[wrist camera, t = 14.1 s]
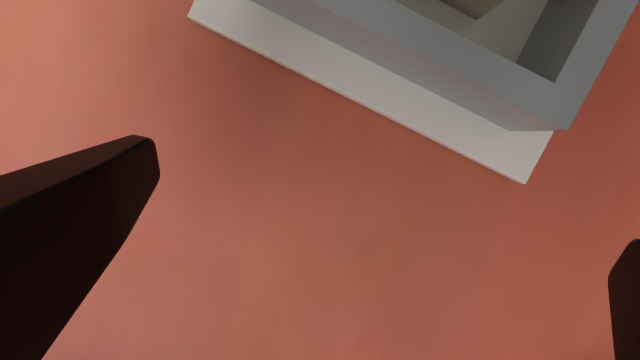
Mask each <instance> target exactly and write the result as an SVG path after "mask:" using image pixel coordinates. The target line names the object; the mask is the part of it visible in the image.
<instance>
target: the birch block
mask: <svg viewBox="0 0 640 360" xmlns="http://www.w3.org/2000/svg"><path fill="white" fill-rule="evenodd" d="M439 1H440V2H442V3H444V4H446V5H448V6H450V7H452V8H454V9H456V10H458V11H460V12H462V13H464V14H466V15H468V16H470V17H472V18H474V19H476V20H477V19H479V18H480V17H482V16H483V15H484V14H486V13H487V12H489V11H490V10H491V9H493V8H494V7H496V6H497V5H498V4H500V3H501V2H503V1H504V0H439Z"/></svg>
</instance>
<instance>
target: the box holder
mask: <svg viewBox="0 0 640 360" xmlns="http://www.w3.org/2000/svg"><path fill="white" fill-rule="evenodd" d="M638 2H639V0H504V1H503V2H501V3H500V4H498V5H497V6H496V7H494V8H493V9H491V10H490V11H489V12H487V13H486V14H484V15H483V16H482V17H480V18H479V19H477V20H476V19H474V18H472V17H470V16H468V15H466V14H464V13H462V12H460V11H458V10H456V9H454V8H452V7H450V6H448V5H446V4H444V3H442V2H440V1H439V0H194V2H193V4H192V7H191V9H190V11H189V13H188V17H189V18H190V19H191V20H192V21H193V22H195V23H197V24H199V25H201V26H203V27H205V28H207V29H209V30H211V31H213V32H215V33H217V34H219V35H221V36H223V37H225V38H227V39H229V40H231V41H233V42H235V43H237V44H239V45H241V46H243V47H245V48H247V49H249V50H252V51H254V52H256V53H258V54H260V55H262V56H264V57H266V58H268V59H270V60H272V61H274V62H276V63H278V64H280V65H282V66H284V67H286V68H288V69H290V70H292V71H294V72H296V73H298V74H300V75H302V76H304V77H306V78H308V79H310V80H312V81H314V82H316V83H318V84H320V85H322V86H324V87H326V88H328V89H330V90H332V91H334V92H336V93H338V94H340V95H342V96H344V97H346V98H348V99H350V100H352V101H354V102H356V103H358V104H360V105H362V106H364V107H366V108H368V109H370V110H372V111H374V112H376V113H378V114H380V115H382V116H384V117H386V118H388V119H390V120H392V121H394V122H396V123H398V124H400V125H402V126H404V127H406V128H408V129H410V130H412V131H414V132H416V133H418V134H420V135H422V136H424V137H426V138H428V139H430V140H432V141H434V142H436V143H438V144H440V145H442V146H444V147H446V148H448V149H450V150H452V151H454V152H456V153H458V154H460V155H462V156H464V157H466V158H468V159H471V160H473V161H475V162H477V163H479V164H481V165H483V166H485V167H487V168H489V169H491V170H493V171H495V172H497V173H499V174H501V175H503V176H505V177H507V178H509V179H511V180H513V181H515V182H517V183H521V184H526V182H527V180H528V179H529V177H530V175H531V173H532V171H533V169H534V168H535V166H536V164H537V162H538V160H539V158H540V157H541V155H542V153H543V151H544V149H545V147H546V145H547V144H548V142H549V140H550V138H551V136H552V134H553V133H554V131H568V130H569V128H570V126H571V124H572V123H573V121H574V119H575V117H576V115H577V113H578V112H579V110H580V108H581V106H582V104H583V102H584V101H585V99H586V97H587V95H588V93H589V91H590V90H591V88H592V86H593V84H594V82H595V80H596V79H597V77H598V75H599V73H600V71H601V69H602V68H603V66H604V64H605V62H606V60H607V58H608V57H609V55H610V53H611V51H612V49H613V48H614V46H615V44H616V42H617V40H618V38H619V37H620V35H621V33H622V31H623V29H624V27H625V26H626V24H627V22H628V20H629V18H630V16H631V15H632V13H633V11H634V9H635V7H636V5H637V4H638Z"/></svg>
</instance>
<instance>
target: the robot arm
mask: <svg viewBox="0 0 640 360" xmlns="http://www.w3.org/2000/svg"><path fill="white" fill-rule="evenodd" d="M159 178H160V168H159V163H158V157H157V151H156V146H155V143H154V141H153V140H152V139H151V138H148V137H143V136H138V135H129V136H126V137H123V138H120V139H116V140H113V141H110V142H107V143H104V144H100V145H97V146H94V147H91V148H87V149H84V150H81V151H78V152H75V153H71V154H68V155H65V156H62V157H58V158H55V159H52V160H49V161H45V162H42V163H39V164H36V165H33V166H29V167H26V168H23V169H20V170H16V171H13V172H10V173H7V174H4V175H0V360H41V359H42V358H43V356H44V355H45V353H46V352H47V351H48V349H49V348H50V346H51V345H52V344H53V342H54V341H55V339H56V338H57V337H58V335H59V334H60V332H61V331H62V330H63V328H64V327H65V325H66V324H67V323H68V321H69V320H70V318H71V317H72V316H73V314H74V313H75V311H76V310H77V309H78V307H79V306H80V304H81V303H82V301H83V300H84V299H85V297H86V296H87V294H88V293H89V292H90V290H91V289H92V287H93V286H94V285H95V283H96V282H97V280H98V279H99V278H100V276H101V275H102V273H103V272H104V271H105V269H106V268H107V266H108V265H109V264H110V262H111V261H112V259H113V258H114V257H115V255H116V254H117V252H118V251H119V249H120V248H121V246H122V245H123V243H124V242H125V240H126V239H127V237H128V235H129V234H130V232H131V230H132V229H133V227H134V225H135V223H136V221H137V220H138V218H139V216H140V214H141V212H142V211H143V209H144V207H145V205H146V204H147V202H148V200H149V198H150V196H151V195H152V193H153V191H154V189H155V187H156V186H157V184H158V181H159ZM608 291H609V302H610V313H611V324H612V335H613V346H614V355H615V360H640V239H634V240H632V241H631V242H630V243H629V244H628V245H627V247H626V248H625V250H624V251H623V253H622V254H621V256H620V257H619V259H618V260H617V262H616V263H615V265H614V266H613V268H612V269H611V271H610V274H609V277H608Z"/></svg>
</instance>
